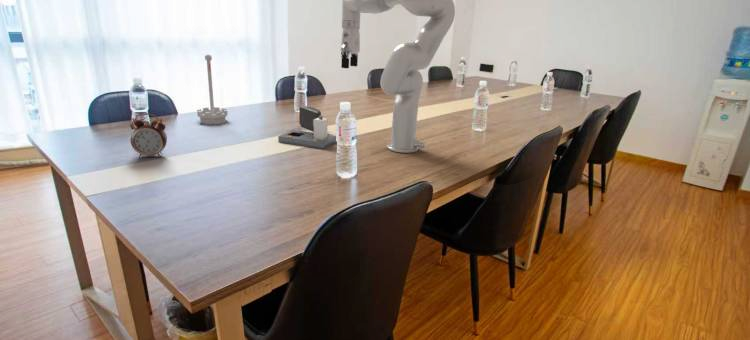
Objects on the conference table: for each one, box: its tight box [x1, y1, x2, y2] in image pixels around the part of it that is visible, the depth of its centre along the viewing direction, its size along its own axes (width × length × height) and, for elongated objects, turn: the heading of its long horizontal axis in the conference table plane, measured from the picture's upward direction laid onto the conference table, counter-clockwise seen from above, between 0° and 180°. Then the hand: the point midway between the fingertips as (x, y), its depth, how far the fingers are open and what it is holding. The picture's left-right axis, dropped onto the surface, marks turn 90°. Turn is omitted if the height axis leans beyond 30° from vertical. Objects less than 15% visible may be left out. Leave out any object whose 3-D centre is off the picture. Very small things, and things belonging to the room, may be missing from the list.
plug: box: [313, 115, 328, 141], centre depth 171 cm, size 5×4×11 cm
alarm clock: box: [129, 113, 168, 159], centre depth 145 cm, size 11×5×15 cm, turn 105°
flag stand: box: [196, 54, 228, 125], centre depth 194 cm, size 13×13×30 cm
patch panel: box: [278, 129, 337, 150], centre depth 174 cm, size 20×12×3 cm, turn 71°
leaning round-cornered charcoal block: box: [298, 105, 322, 132], centre depth 193 cm, size 16×5×9 cm, turn 39°
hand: (349, 67), depth 185 cm, fingers open, 9 cm apart
